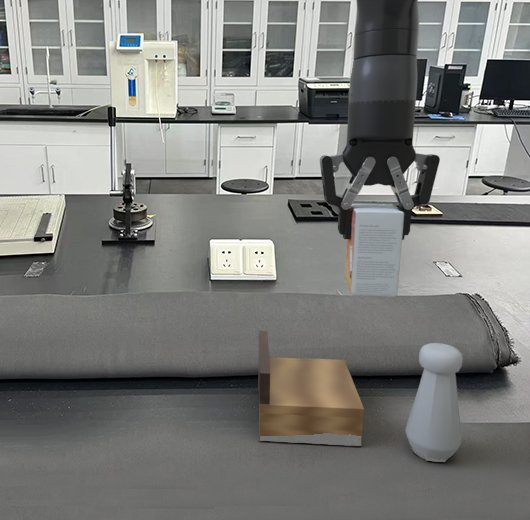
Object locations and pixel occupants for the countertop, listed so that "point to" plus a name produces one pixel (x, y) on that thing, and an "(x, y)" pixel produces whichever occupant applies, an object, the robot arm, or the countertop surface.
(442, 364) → the salt shaker
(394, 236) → the small box
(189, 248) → the countertop surface
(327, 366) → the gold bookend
